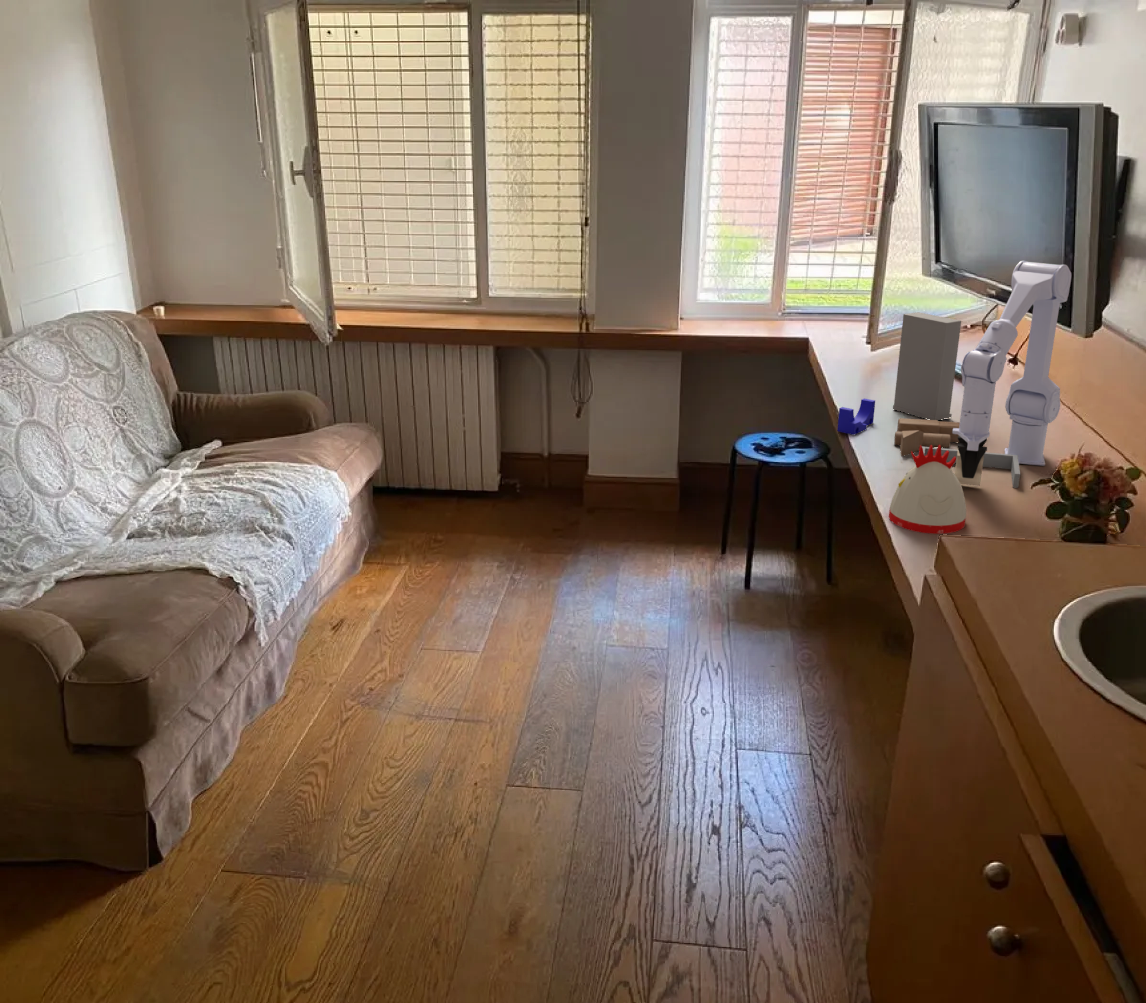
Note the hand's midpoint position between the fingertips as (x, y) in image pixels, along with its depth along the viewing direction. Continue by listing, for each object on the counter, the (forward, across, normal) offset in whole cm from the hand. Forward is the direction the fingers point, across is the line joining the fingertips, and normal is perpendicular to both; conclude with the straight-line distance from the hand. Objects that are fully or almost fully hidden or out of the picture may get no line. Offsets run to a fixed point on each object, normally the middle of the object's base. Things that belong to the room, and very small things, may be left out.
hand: (967, 473), depth 210 cm
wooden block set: (+4, -26, -7) cm, 27 cm away
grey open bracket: (+3, -9, 0) cm, 9 cm away
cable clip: (+3, -36, -25) cm, 44 cm away
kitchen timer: (+3, +21, -7) cm, 22 cm away
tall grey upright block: (+3, -53, -11) cm, 54 cm away
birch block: (+2, 0, 0) cm, 2 cm away
